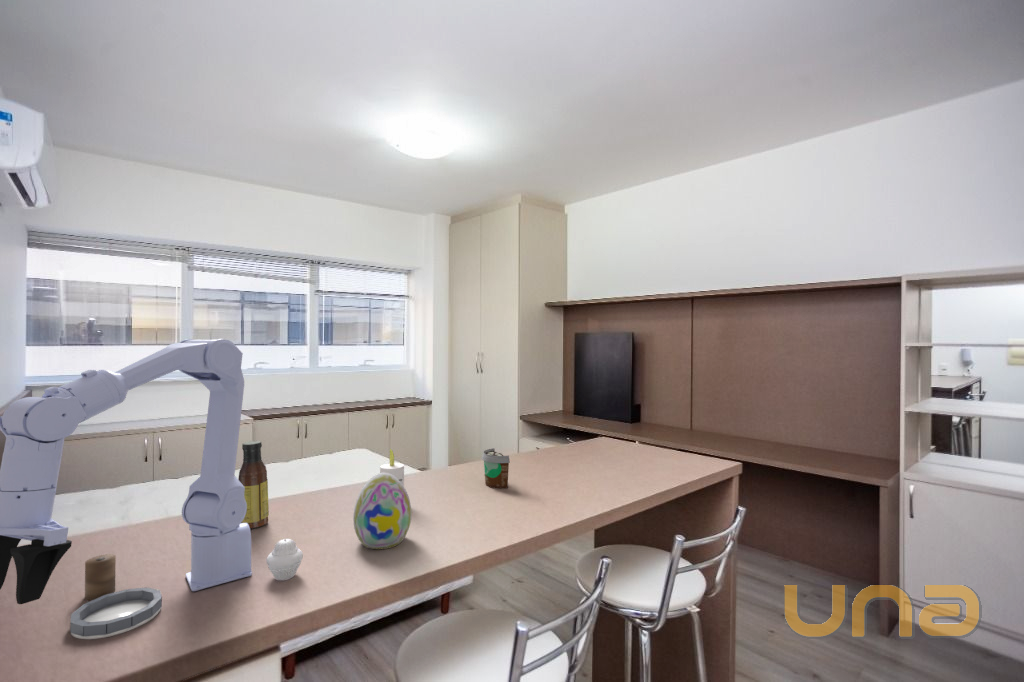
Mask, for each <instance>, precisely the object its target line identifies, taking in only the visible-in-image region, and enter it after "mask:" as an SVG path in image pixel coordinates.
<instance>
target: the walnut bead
mask: <svg viewBox="0 0 1024 682" xmlns="http://www.w3.org/2000/svg"><path fill="white" fill-rule="evenodd" d="M116 558H117V557H116V555H115V554H110V553H108V554H101V555H96V556H93V557H91V558H88V559H87V560H86V561H85V563H84V565H85V566H84V599H85V600H86V601H92V600H94V599H97V598H99V597H101V596H104V595H106V594H110V593H114V592H116V567H117V566H116V565H117V564H116Z"/></svg>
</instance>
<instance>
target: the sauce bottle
mask: <svg viewBox="0 0 1024 682" xmlns="http://www.w3.org/2000/svg"><path fill="white" fill-rule="evenodd" d="M262 445H263V444H262V441H261V440H249V441H245V442H243V443H242V449H241V450H242V452H243V459H242V461H243V462H242V464H241V467H240V470H239V471H238V477H237V479H238V480H239V481H240V482H241V483H242V485H243V486H244V487H245V490H244V497H245V501H246V504H247V511H246V515H245V517H244V519H243V521H242V522H241V523H248V525H249V527H250V530H251V529H257V528H261V527H264V526H265V525H267V524H268V522H269V512H270V511H269V510H270V509H269V508H270V507H269V483H268V482H269V481H268V479H269V478H268V470H267V467H266V465H265V463H264V462H263V460H262Z"/></svg>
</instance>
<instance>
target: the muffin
mask: <svg viewBox="0 0 1024 682" xmlns="http://www.w3.org/2000/svg"><path fill="white" fill-rule="evenodd" d="M303 555H304V554H303V551H302V550H301V549H300V548H299V547H298V546H297V544H296V541H295V540H293V539H291V538H283V539H280V540H278V541H277V542H276V543H275V544H274V549H272V551H271V552H270V553H269V554H268V556H267V557H266V565H267V566H268V570H269V571H270V573H271V575H272V576H273V579H275V580H277V581H288V580H290V579H293V577H294V576H295V575H296V574H297V571H298V569H299V567H300V565H301V563H302V560H303V557H304V556H303Z"/></svg>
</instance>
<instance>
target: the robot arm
mask: <svg viewBox="0 0 1024 682" xmlns="http://www.w3.org/2000/svg"><path fill="white" fill-rule="evenodd" d="M243 354H244V353H243V352H242V351H241V350H240V349H239V347H237V345H235V343H234V342H233V341H231V340H230V339H226V338H218V339H193V338H186V339H183V340H180V341H179V342H175V343H170V344H168V345H167V346H165V347H164V348H161V349H160V350H158V351H156V352H153V353H151V354H149V355H148V356H146V357H143V358H142V359H139V360H137V361H135V362H133V363H131V364H129V365H127V366H125V367H123V368H120V369H119V370H117V371H114V372H113V371H110V370H107V369H98V370H97V369H88V370H87V369H86V370H85V371H82V372H81V373H80V375H81V377H79V378H77V379H75V380H72V381H69V382H68V383H65V384H63V385H60V386H50V387H47V388H45V389H44V390H43V391H44V393H43V394H42V396H41V397H40V396H39V397H38V396H27V397H26V396H25V397H23V398H20V399H17V400H15V401H14V402H12V403H10V404H9V406H8V408H5V410H4V412H3V414H2V415H1V416H0V432H1V433H2V434H3V435H4V437H5V442H4V449H3V452H2V458H1V464H0V590H1V589H2V587H3V585H4V583H5V581H6V577H7V574H8V570H9V568H10V563H11V560H12V559H13V561H14V565H15V570H16V571H15V572H16V587H15V599H16V600H15V601H16V605H17V604H18V605H24V604H29V603H31V602H34V601H36V600H40V599H41V598H42V595H43V593H44V590H45V588H46V586H47V584H48V581H49V580H50V578H51V575H52V574H53V572H54V570H55V568H56V566H57V565H58V563H60V561H61V559H62V558H63V556H65V554H66V553H67V552H68V551H69V549H71V547H72V544H73V543H72V542H73V541H72V540H69V539H68V534H69V526H64V525H62V524H60V523H59V522H58V521H56V520H54V519H53V518H52V516H53V512H54V505H55V498H56V493H57V487H58V481H59V474H60V469H61V462H62V457H63V456H62V455H63V449H64V443H65V438H67V437H70V436H71V435H72V434H73V433H74V432H75V431H76V430H77V427H78V425H79V424H82V423H83V422H85V421H87V420H89V419H91V418H94V417H95V416H97V415H99V414H101V413H103V412H106V411H108V410H109V409H111V408H114V407H115V406H117V405H120V404H121V403H123V402H124V401H125V400H126V398H127V394H128V392H129V391H130V390H133V389H135V388H137V387H140V386H142V385H144V384H147V383H149V382H152V381H154V380H156V379H159V378H161V377H163V376H166V375H168V374H171V373H173V372H176V371H179V372H181V373H183V374H185V375H187V376H190V377H191V378H194V379H195V380H197V381H199V383H201V384H202V385H203V386H204V387H205V388H206V389H207V390H209V400H208V408H207V415H206V425H205V434H204V441H203V451H202V457H201V459H202V460H201V466H200V475H199V477H198V478H196V480H194V481H193V482H192V483H191V484H190V485H189V489H188V494H187V497H186V498H185V500H184V502H183V504H182V507H181V517H182V519H183V521H184V523H186V524H188V525H189V527H188V528H189V529H188V530H189V532H191V533H190V534H191V536H190V537H191V539H190V540H191V541H190V543H191V544H190V550H191V551H190V571H189V572H186V573H185V578H186V580H187V583H188V585H189V588H190V590H191V592H196V591H201V590H203V589H204V590H205V589H207V588H211V587H215V586H218V585H222V584H225V583H229V582H232V581H233V582H234V581H237V580H240V579H244V578H246V577H251V576H252V575H253V571H252V533H251V532H252V531H251V529H250V527H249V525H248V523H241V522H242V521H243V519H244V517H245V515H246V511H247V504H246V501H245V497H244V490H245V487H244V486H243V485H242V483H241V482H240V481H239V480H238V477H237V476H236V475H235V473H236V463H237V454H238V444H239V435H240V429H241V428H240V427H241V417H242V408H243V401H244V390H245V378H244V373H243V371H242V363H243ZM22 540H25V541H31V543H30V544H23V545H21V546H18V545H19V544H20V542H21V541H22Z"/></svg>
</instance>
